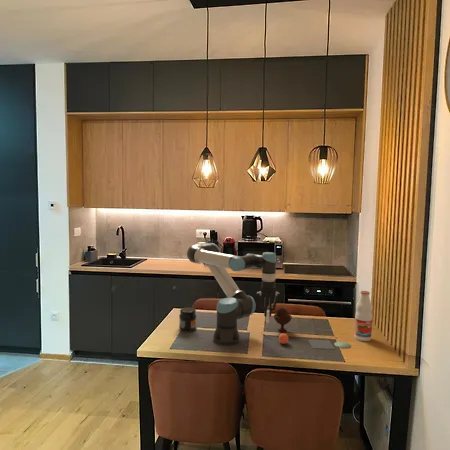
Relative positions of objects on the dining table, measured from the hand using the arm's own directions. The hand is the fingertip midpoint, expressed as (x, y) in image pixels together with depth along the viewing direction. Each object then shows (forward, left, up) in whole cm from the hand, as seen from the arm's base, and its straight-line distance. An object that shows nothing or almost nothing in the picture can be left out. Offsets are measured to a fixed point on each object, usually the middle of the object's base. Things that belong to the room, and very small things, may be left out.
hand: (267, 322), depth 211 cm
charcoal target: (+30, 0, -12) cm, 33 cm away
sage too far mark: (+42, 0, -12) cm, 44 cm away
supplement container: (-47, +19, -12) cm, 52 cm away
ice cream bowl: (+11, +20, -12) cm, 26 cm away
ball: (+9, 0, -9) cm, 13 cm away
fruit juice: (+57, +11, -12) cm, 60 cm away
